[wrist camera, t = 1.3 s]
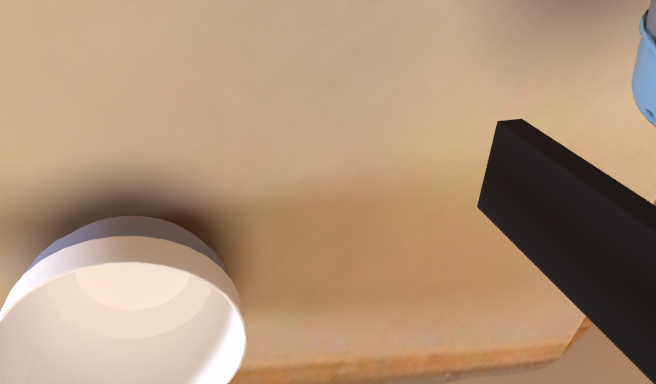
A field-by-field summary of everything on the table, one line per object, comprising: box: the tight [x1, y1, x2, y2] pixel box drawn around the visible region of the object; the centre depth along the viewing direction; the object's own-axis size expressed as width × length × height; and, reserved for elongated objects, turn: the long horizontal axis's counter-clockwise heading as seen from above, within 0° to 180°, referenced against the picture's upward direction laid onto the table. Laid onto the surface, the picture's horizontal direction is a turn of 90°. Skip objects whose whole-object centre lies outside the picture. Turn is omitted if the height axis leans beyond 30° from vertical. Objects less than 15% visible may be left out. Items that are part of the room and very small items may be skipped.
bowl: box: [0, 216, 248, 384], centre depth 37 cm, size 16×16×10 cm
